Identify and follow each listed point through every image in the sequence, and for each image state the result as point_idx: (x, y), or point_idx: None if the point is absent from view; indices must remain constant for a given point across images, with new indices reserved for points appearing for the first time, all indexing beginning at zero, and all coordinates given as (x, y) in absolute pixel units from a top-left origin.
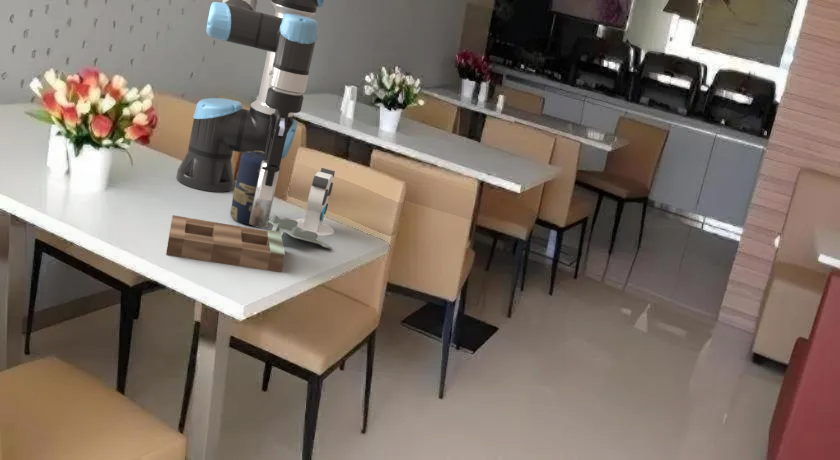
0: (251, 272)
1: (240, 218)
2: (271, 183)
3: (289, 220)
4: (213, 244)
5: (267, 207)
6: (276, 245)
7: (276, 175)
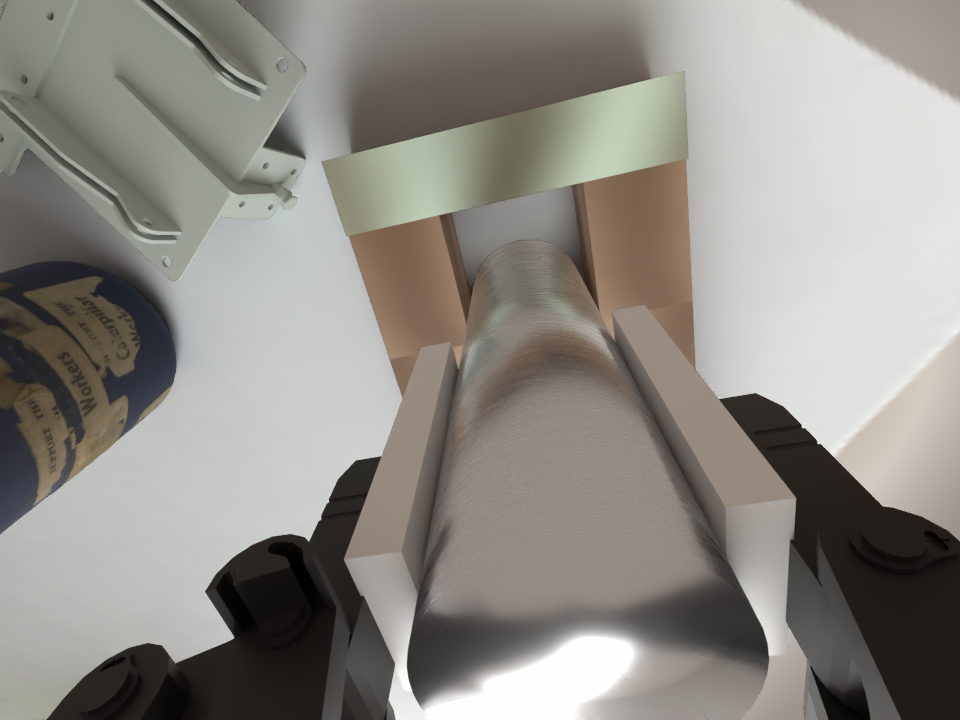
0: (715, 214)
1: (171, 371)
2: (786, 424)
3: (58, 143)
4: None
5: (590, 301)
6: (569, 145)
7: (762, 456)
